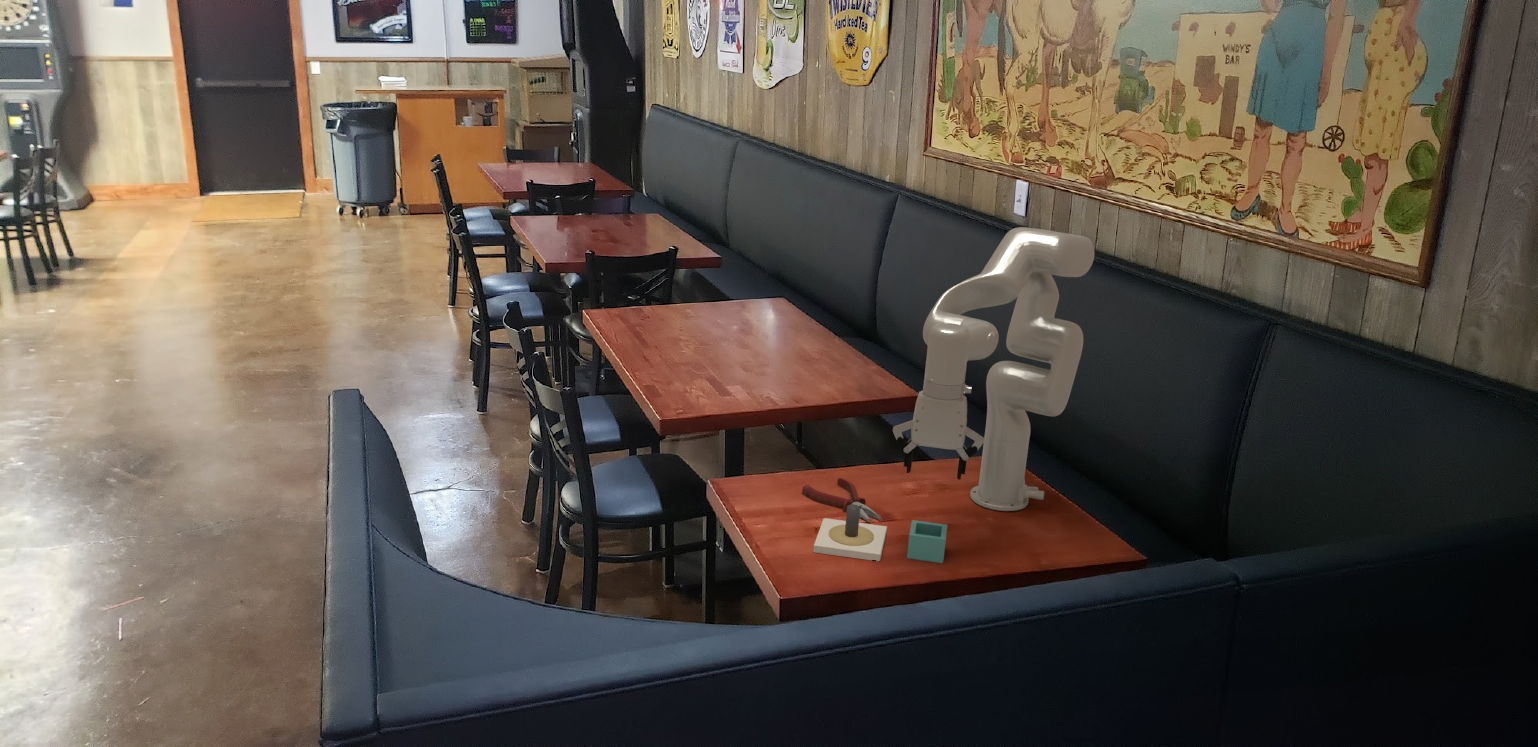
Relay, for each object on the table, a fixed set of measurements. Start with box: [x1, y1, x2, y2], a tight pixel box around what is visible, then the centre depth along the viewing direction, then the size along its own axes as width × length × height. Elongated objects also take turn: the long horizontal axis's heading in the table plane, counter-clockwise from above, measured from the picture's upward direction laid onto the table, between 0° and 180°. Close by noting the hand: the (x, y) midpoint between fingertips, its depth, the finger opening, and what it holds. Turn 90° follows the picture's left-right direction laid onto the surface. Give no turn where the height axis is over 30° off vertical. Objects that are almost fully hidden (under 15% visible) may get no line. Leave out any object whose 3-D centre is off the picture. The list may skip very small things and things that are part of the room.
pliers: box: [801, 477, 883, 524], centre depth 243 cm, size 12×20×3 cm, turn 32°
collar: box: [906, 519, 948, 564], centre depth 223 cm, size 7×7×5 cm
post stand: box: [812, 504, 888, 562], centre depth 225 cm, size 13×13×8 cm
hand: (933, 473), depth 218 cm, fingers open, 9 cm apart
